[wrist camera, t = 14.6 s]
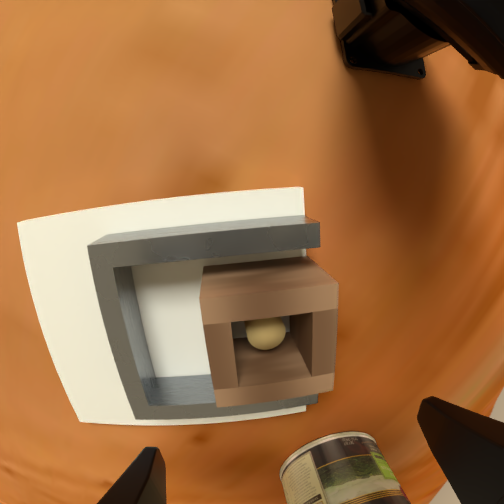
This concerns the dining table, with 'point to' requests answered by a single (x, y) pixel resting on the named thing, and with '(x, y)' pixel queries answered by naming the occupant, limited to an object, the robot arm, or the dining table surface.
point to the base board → (141, 296)
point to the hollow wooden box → (267, 306)
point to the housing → (129, 319)
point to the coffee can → (340, 473)
